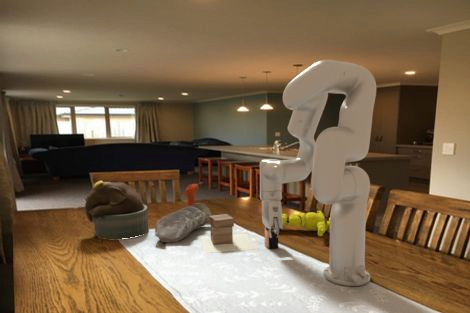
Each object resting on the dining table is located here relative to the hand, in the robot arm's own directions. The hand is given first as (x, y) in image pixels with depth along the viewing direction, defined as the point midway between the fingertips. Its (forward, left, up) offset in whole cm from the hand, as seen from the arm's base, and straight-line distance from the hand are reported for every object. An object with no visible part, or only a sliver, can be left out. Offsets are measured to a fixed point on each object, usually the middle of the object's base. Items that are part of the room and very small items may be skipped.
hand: (271, 246), depth 128 cm
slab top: (+9, +16, +6) cm, 20 cm away
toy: (+17, -21, -1) cm, 27 cm away
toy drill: (+61, +21, -1) cm, 65 cm away
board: (+7, +14, -1) cm, 16 cm away
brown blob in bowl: (+31, +55, -1) cm, 64 cm away
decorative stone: (+25, +29, -1) cm, 39 cm away
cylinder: (0, 0, -1) cm, 1 cm away
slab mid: (+9, +16, +3) cm, 19 cm away
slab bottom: (+9, +16, 0) cm, 19 cm away
